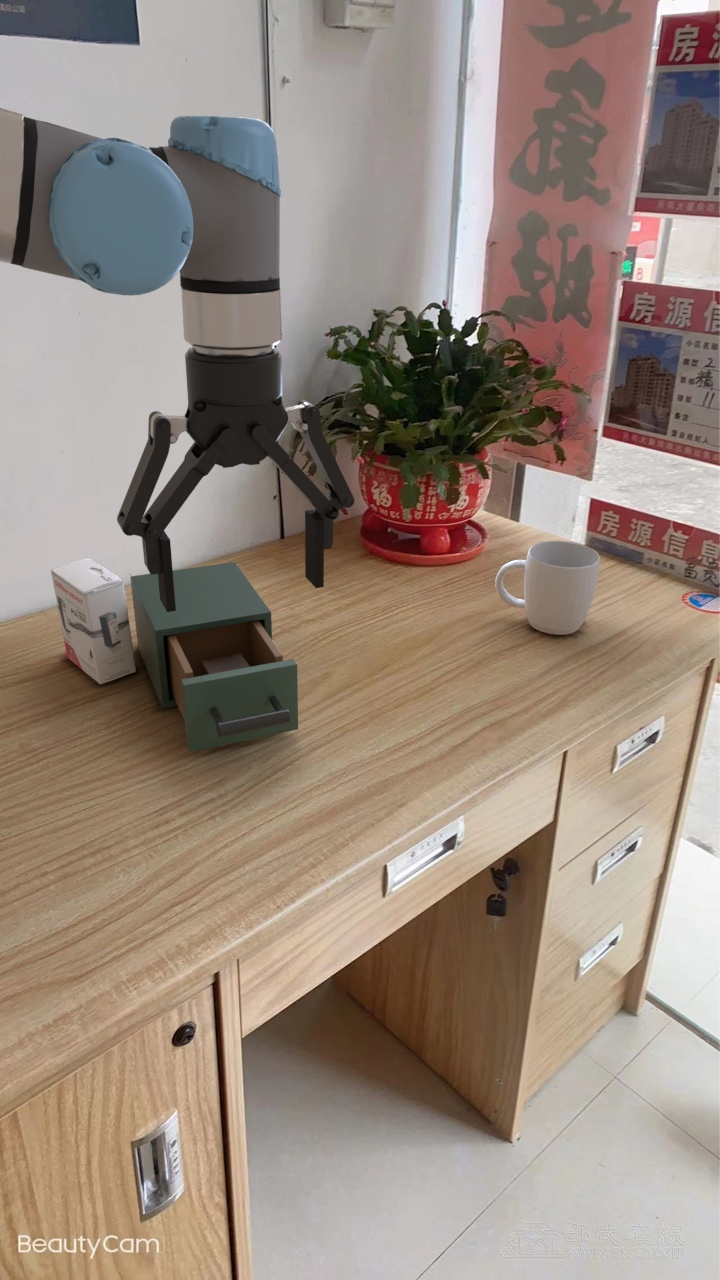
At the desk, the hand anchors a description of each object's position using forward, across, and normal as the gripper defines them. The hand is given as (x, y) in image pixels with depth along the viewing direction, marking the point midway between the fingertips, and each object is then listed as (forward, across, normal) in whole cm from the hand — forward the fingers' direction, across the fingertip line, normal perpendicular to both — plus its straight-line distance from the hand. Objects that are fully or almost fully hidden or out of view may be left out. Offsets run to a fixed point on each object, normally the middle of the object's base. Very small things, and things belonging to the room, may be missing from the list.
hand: (243, 593), depth 79 cm
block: (+16, 0, -8) cm, 19 cm away
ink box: (+19, +10, -25) cm, 33 cm away
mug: (+18, -45, -15) cm, 51 cm away
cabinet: (+18, -1, -20) cm, 27 cm away
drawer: (+18, 0, -7) cm, 19 cm away
